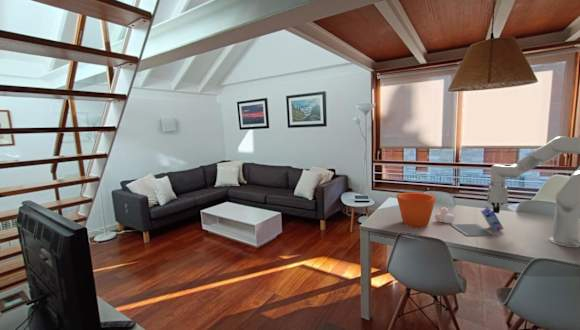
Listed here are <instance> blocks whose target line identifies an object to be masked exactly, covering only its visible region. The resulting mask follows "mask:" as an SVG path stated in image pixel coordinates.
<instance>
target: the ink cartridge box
mask: <svg viewBox="0 0 580 330" xmlns="http://www.w3.org/2000/svg"><path fill="white" fill-rule="evenodd" d="M480 212H481V214H482V216H483V217H484V219H485V221H486V223H487V224H488V226H489V227H490V229H491V230H492V231H493V232H495V233H496V232H498V231H502V230H504V227H503V225H502V223H501V222H500V220H499V218H498V217H497V215H496V213H494V212H493V209H491V208H489V207H488V206H485V209H483V210H480Z"/></svg>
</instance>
